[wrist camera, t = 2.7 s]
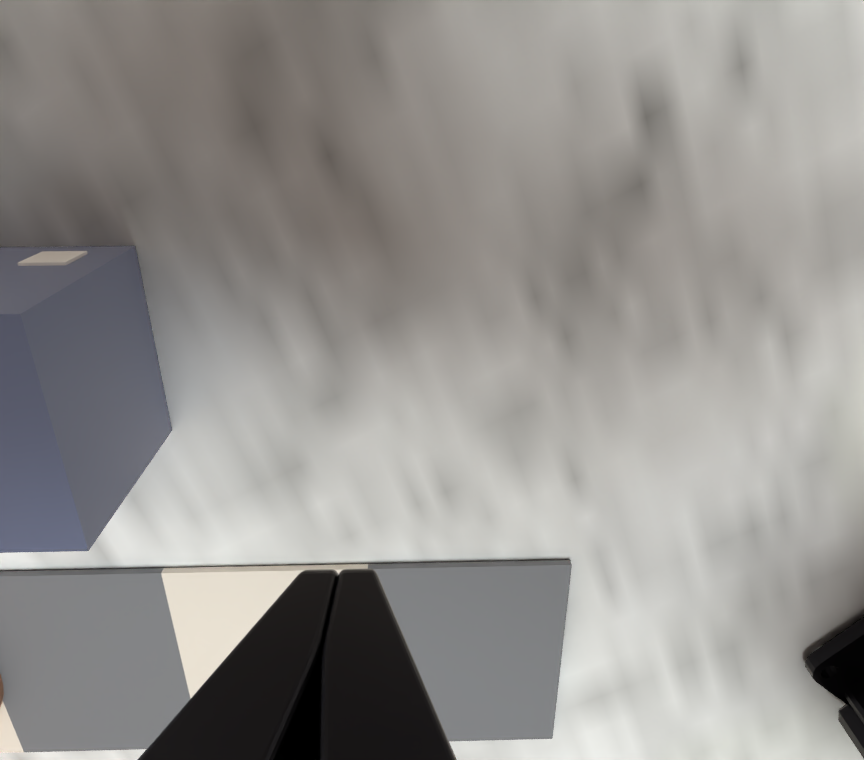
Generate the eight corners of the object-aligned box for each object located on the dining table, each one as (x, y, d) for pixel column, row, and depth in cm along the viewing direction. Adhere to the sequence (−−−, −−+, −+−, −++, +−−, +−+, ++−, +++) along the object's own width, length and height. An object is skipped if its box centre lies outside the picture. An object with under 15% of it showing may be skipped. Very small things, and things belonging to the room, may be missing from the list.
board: (570, 559, 18) (571, 564, 17) (551, 732, 21) (552, 738, 20) (-466, 580, 17) (-475, 586, 17) (-331, 755, 20) (-338, 761, 20)
